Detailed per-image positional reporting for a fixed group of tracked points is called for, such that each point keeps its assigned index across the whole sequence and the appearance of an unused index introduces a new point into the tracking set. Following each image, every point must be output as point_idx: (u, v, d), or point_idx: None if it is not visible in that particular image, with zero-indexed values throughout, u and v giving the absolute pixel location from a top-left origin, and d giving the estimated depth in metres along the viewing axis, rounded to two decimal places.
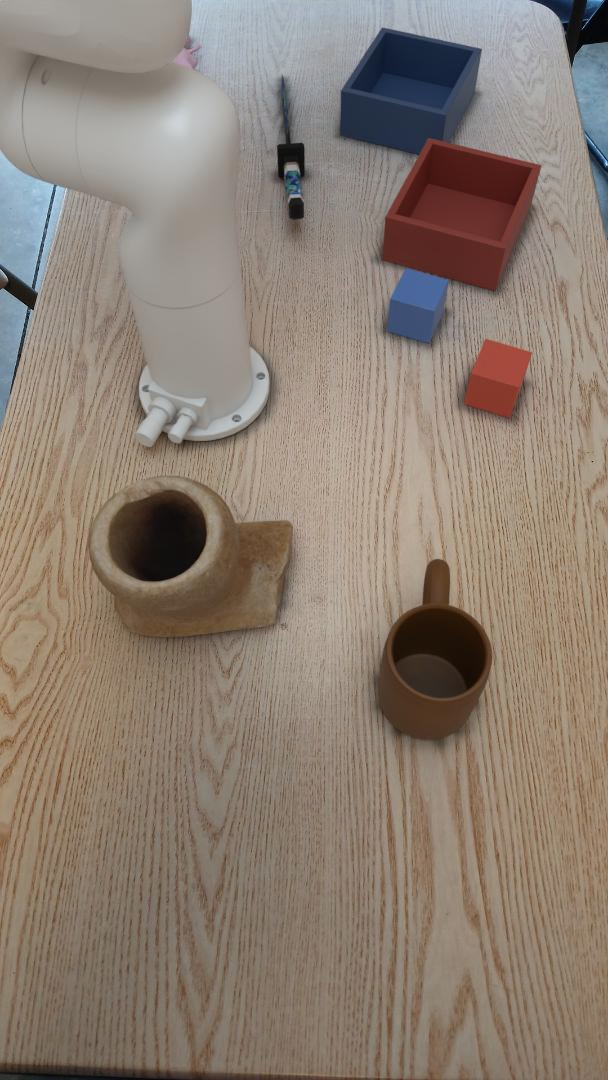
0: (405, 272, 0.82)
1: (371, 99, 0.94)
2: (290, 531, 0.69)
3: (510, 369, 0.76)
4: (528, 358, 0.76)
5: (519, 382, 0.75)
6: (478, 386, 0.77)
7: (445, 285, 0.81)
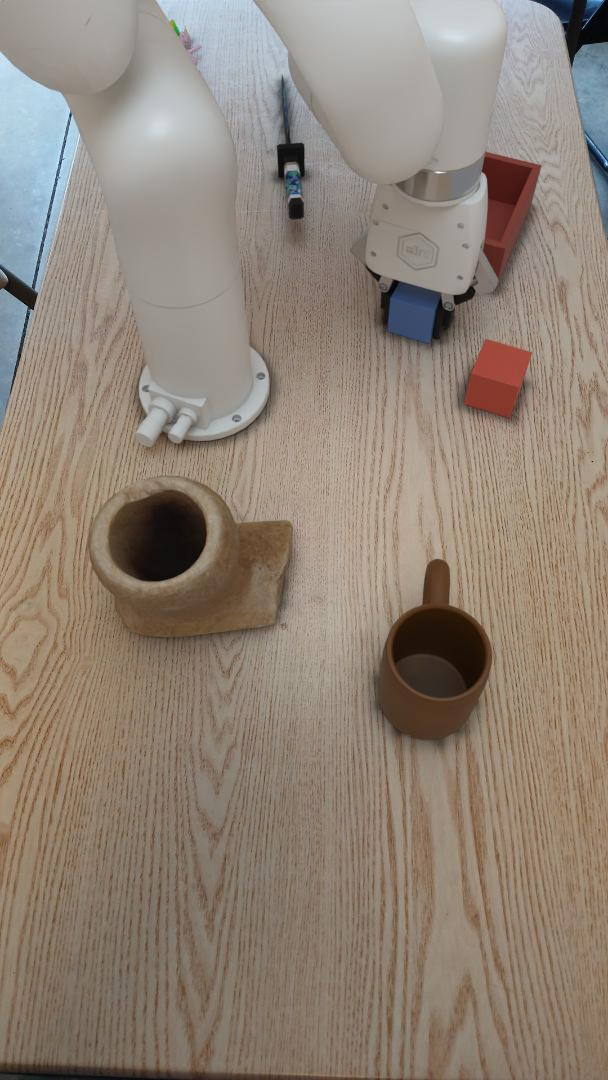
0: None
1: None
2: (290, 531, 0.69)
3: (510, 369, 0.76)
4: (528, 358, 0.76)
5: (519, 382, 0.75)
6: (478, 386, 0.77)
7: None
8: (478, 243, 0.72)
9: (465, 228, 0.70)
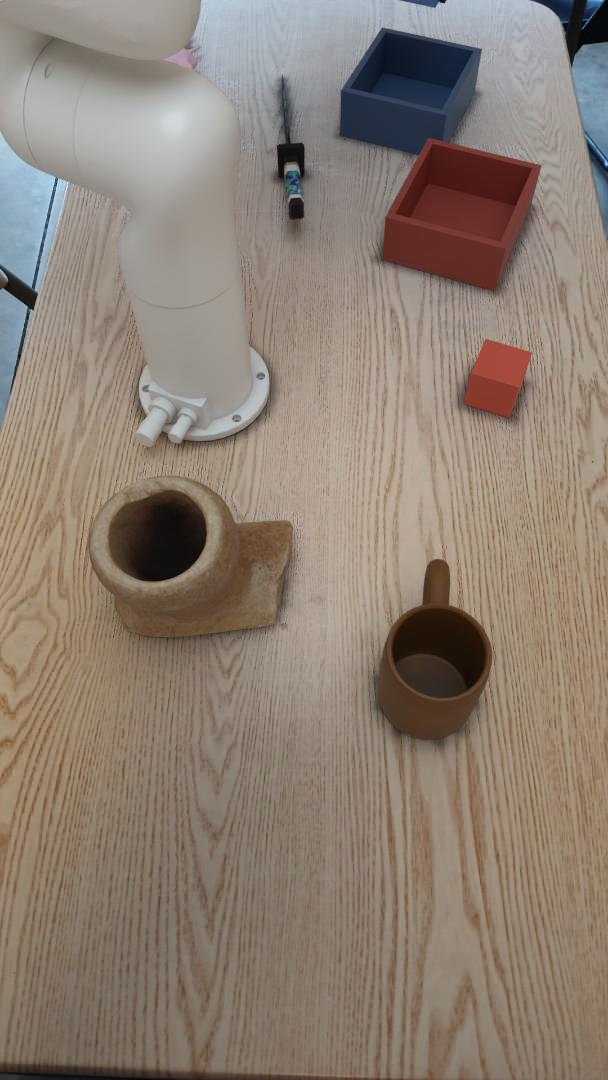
0: None
1: (371, 99, 0.94)
2: (290, 531, 0.69)
3: (510, 369, 0.76)
4: (528, 358, 0.76)
5: (519, 382, 0.75)
6: (478, 386, 0.77)
7: None
8: None
9: None
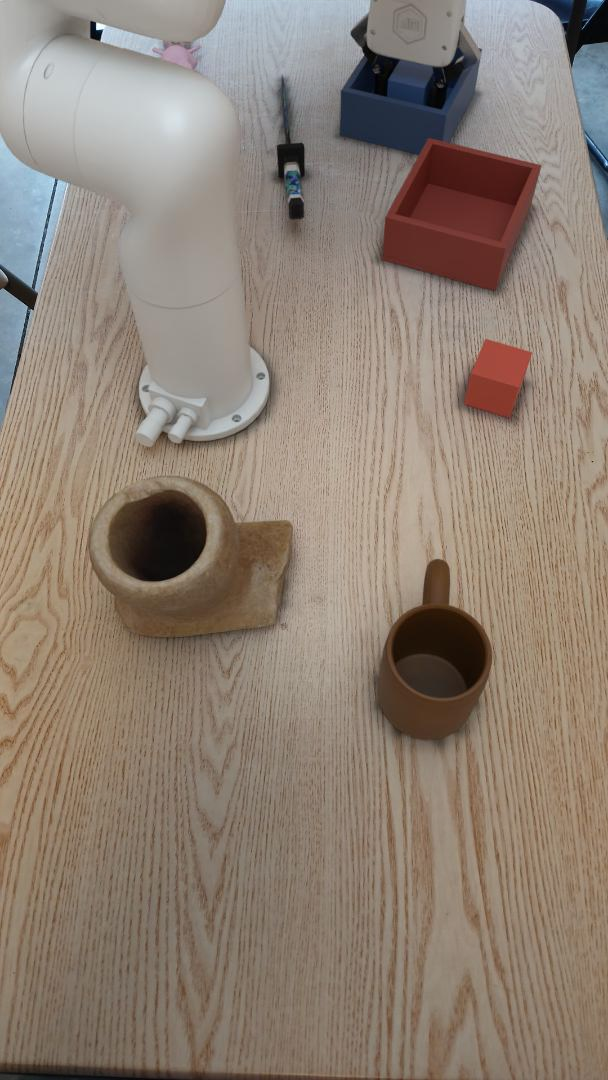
0: (400, 61, 0.98)
1: (371, 99, 0.94)
2: (290, 531, 0.69)
3: (510, 369, 0.76)
4: (528, 358, 0.76)
5: (519, 382, 0.75)
6: (478, 386, 0.77)
7: None
8: (459, 13, 0.88)
9: None
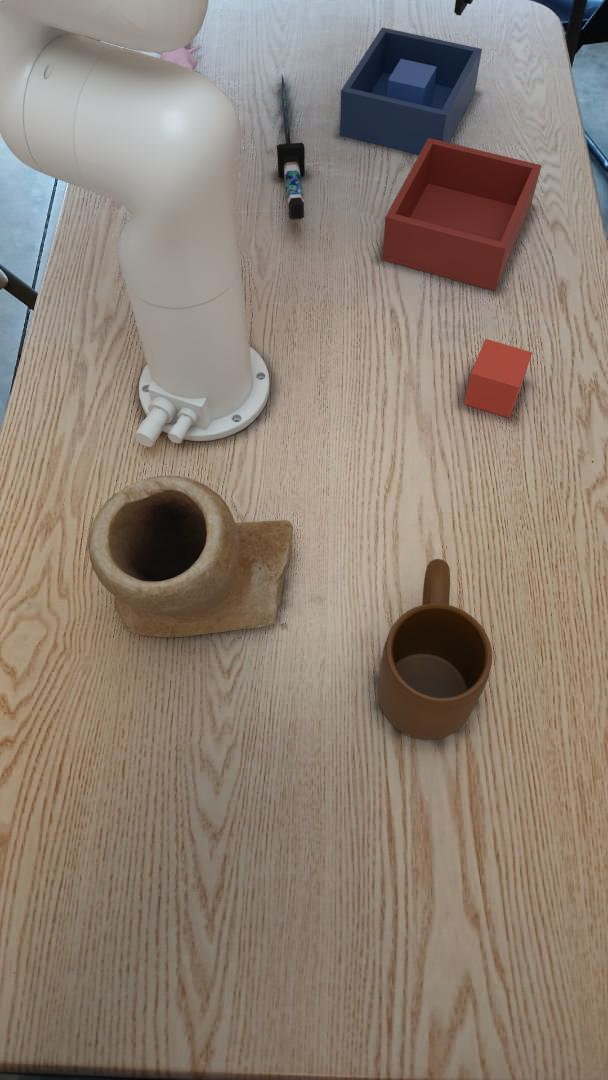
0: (400, 61, 0.98)
1: (371, 99, 0.94)
2: (290, 531, 0.69)
3: (510, 369, 0.76)
4: (528, 358, 0.76)
5: (519, 382, 0.75)
6: (478, 386, 0.77)
7: (433, 70, 0.97)
8: None
9: None
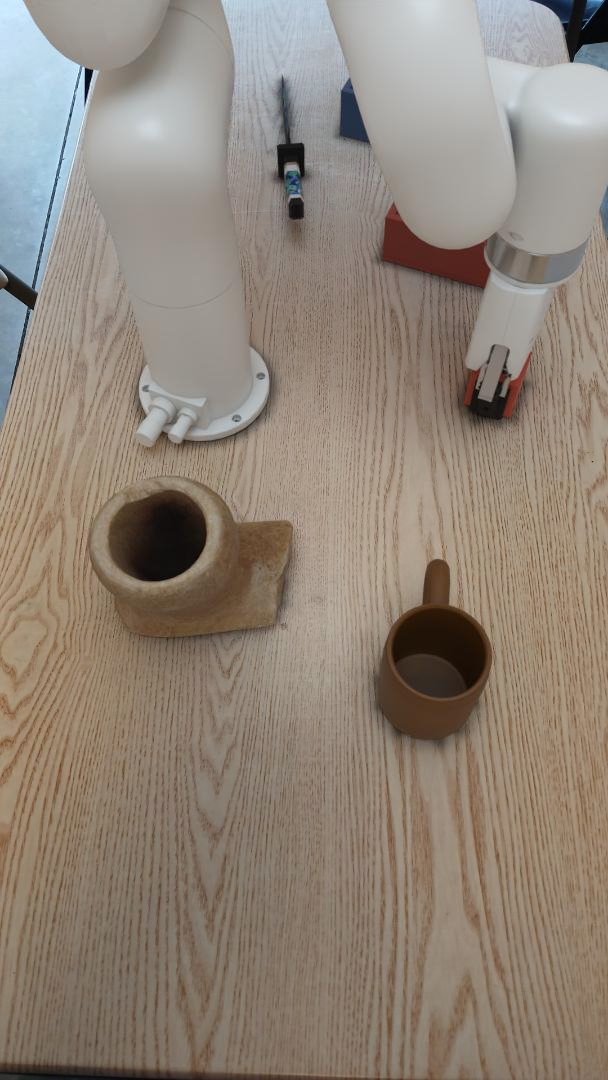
0: None
1: None
2: (290, 531, 0.69)
3: None
4: (528, 358, 0.76)
5: (519, 382, 0.75)
6: None
7: None
8: (487, 331, 0.67)
9: (482, 299, 0.66)
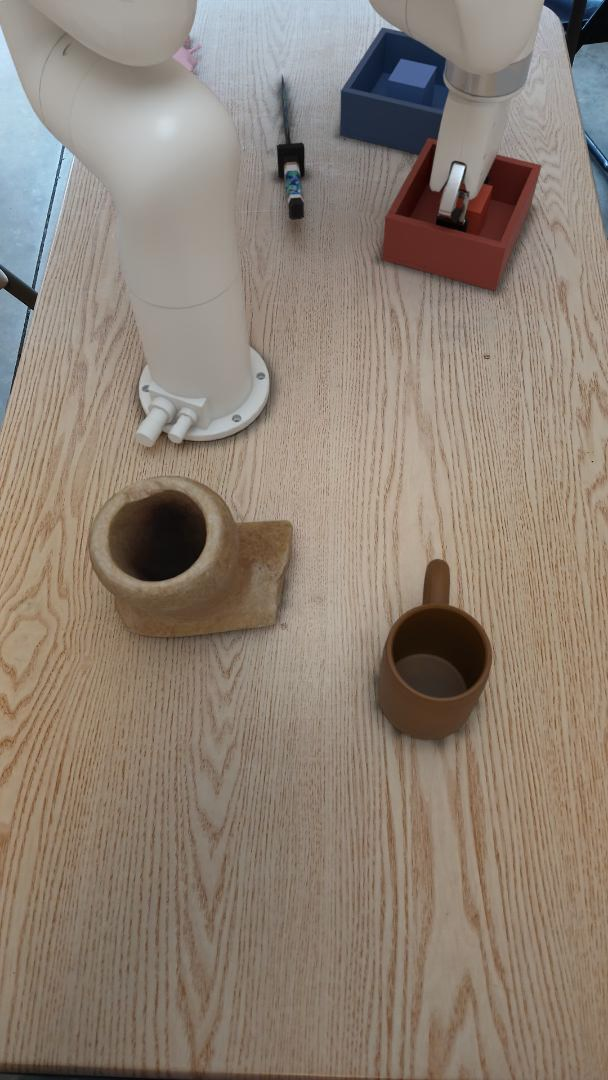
0: (400, 61, 0.98)
1: (371, 99, 0.94)
2: (290, 531, 0.69)
3: (472, 199, 0.86)
4: (489, 190, 0.87)
5: (480, 209, 0.85)
6: None
7: (433, 70, 0.97)
8: (446, 148, 0.77)
9: (442, 117, 0.76)
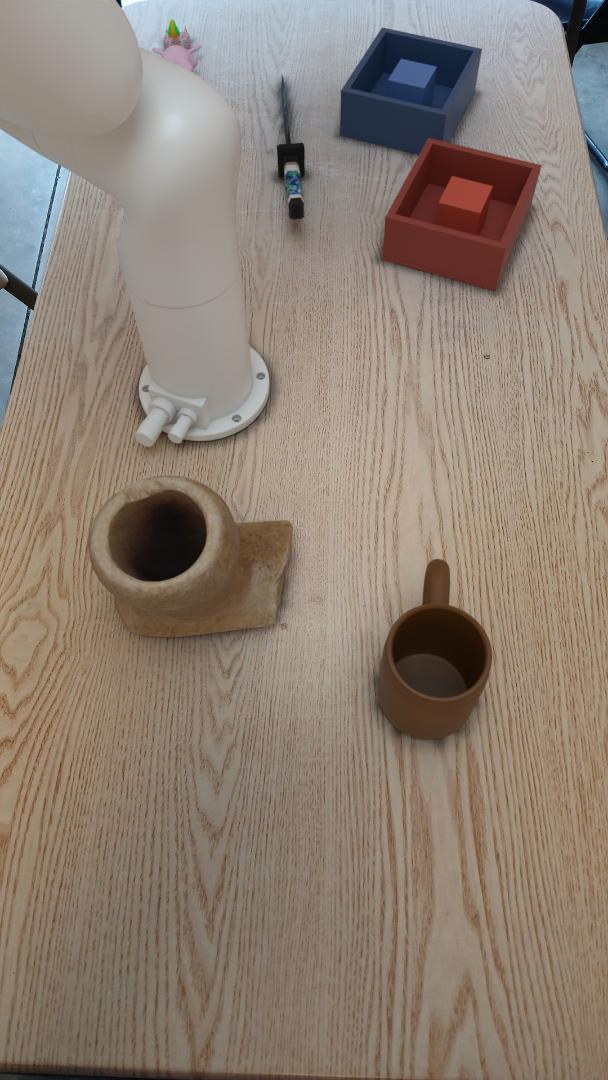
0: (400, 61, 0.98)
1: (371, 99, 0.94)
2: (290, 531, 0.69)
3: (472, 199, 0.86)
4: (489, 190, 0.87)
5: (480, 209, 0.85)
6: (445, 215, 0.87)
7: (433, 70, 0.97)
8: None
9: None
